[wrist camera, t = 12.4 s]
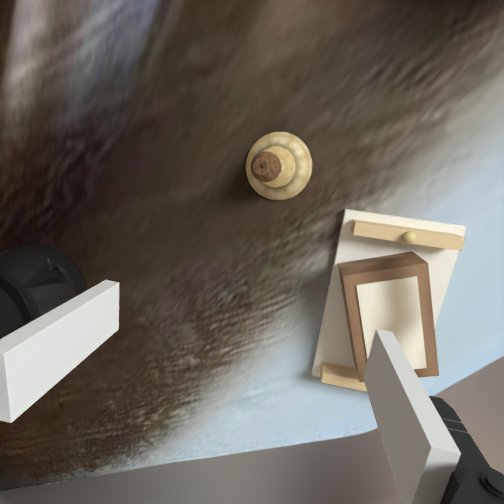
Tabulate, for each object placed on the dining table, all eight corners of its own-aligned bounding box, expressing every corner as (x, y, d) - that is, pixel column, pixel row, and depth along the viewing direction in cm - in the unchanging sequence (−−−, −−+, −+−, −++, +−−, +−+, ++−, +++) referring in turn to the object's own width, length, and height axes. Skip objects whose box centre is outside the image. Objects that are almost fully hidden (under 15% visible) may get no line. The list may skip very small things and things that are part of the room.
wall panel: (311, 371, 46) (312, 391, 42) (344, 208, 39) (349, 213, 35) (410, 390, 44) (421, 413, 40) (462, 225, 38) (482, 232, 34)
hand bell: (277, 213, 41) (263, 239, 25) (232, 167, 40) (190, 165, 25) (326, 166, 38) (342, 164, 23) (279, 116, 38) (264, 80, 22)
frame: (353, 358, 43) (360, 383, 38) (337, 263, 40) (342, 276, 35) (422, 351, 41) (439, 376, 36) (412, 251, 38) (428, 263, 33)
